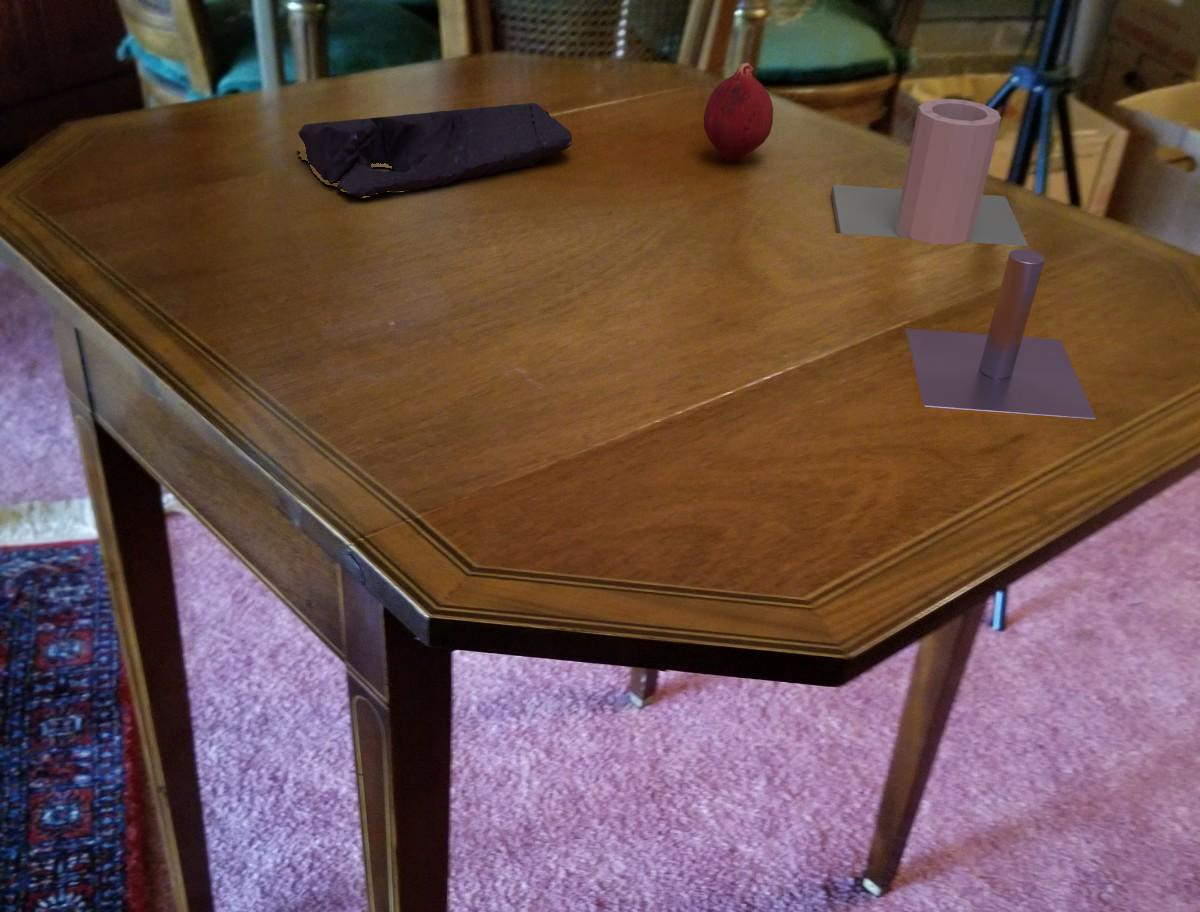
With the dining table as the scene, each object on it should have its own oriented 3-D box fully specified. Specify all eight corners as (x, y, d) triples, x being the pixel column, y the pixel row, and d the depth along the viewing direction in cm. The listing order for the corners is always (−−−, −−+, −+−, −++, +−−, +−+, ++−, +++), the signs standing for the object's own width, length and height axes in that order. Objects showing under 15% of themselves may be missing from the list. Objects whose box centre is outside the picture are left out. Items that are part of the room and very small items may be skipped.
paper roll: (964, 221, 93) (993, 101, 88) (975, 251, 89) (1006, 126, 83) (891, 216, 94) (915, 96, 88) (899, 245, 89) (924, 121, 84)
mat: (1003, 205, 98) (1005, 195, 98) (1047, 302, 85) (1050, 292, 84) (831, 193, 99) (832, 184, 99) (846, 288, 85) (848, 277, 85)
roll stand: (1056, 355, 78) (1095, 227, 73) (1091, 436, 71) (1138, 300, 65) (901, 344, 79) (929, 216, 73) (919, 423, 71) (951, 287, 66)
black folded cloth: (594, 173, 101) (596, 114, 98) (336, 208, 93) (330, 146, 90) (522, 116, 111) (522, 61, 108) (285, 144, 103) (278, 86, 100)
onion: (750, 179, 101) (762, 79, 96) (688, 164, 103) (697, 66, 98) (777, 158, 105) (790, 61, 100) (717, 145, 107) (726, 49, 102)
